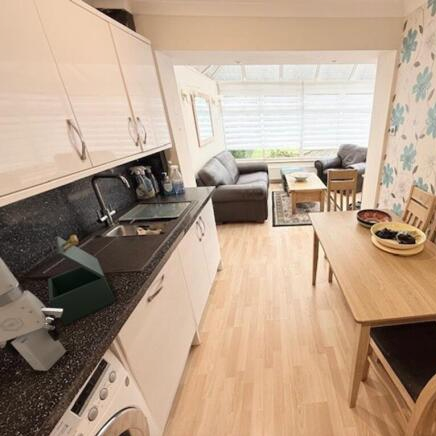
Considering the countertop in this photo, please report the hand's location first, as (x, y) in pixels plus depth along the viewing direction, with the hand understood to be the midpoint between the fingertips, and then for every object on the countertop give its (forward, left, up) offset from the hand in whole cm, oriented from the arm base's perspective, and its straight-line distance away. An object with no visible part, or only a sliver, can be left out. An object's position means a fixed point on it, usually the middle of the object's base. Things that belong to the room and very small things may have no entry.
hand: (38, 344), depth 66 cm
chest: (+5, +25, -7) cm, 27 cm away
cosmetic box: (0, 0, -8) cm, 8 cm away
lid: (+8, +26, +11) cm, 29 cm away
